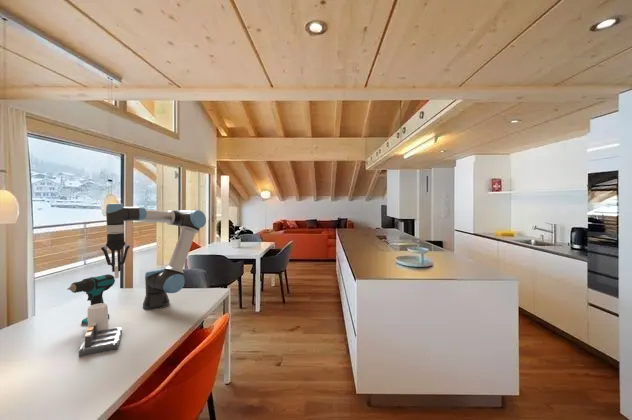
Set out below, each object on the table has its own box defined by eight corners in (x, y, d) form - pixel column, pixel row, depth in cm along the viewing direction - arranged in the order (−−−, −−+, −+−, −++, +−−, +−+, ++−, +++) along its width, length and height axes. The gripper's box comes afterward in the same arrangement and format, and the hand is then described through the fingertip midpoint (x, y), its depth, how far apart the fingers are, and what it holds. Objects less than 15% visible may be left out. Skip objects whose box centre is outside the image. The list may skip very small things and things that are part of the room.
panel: (122, 332, 155) (121, 326, 155) (117, 349, 137) (117, 342, 137) (88, 338, 149) (87, 331, 149) (78, 357, 131) (78, 349, 131)
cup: (112, 331, 157) (111, 303, 156) (96, 338, 149) (95, 309, 149) (100, 329, 160) (99, 302, 159) (83, 336, 152) (82, 307, 151)
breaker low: (97, 332, 149) (97, 321, 149) (96, 335, 146) (95, 324, 145) (92, 333, 148) (92, 322, 148) (90, 336, 145) (90, 325, 144)
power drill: (76, 333, 155) (74, 284, 155) (61, 331, 157) (60, 283, 156) (119, 314, 181) (117, 272, 180) (106, 313, 183) (104, 271, 182)
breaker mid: (94, 337, 143) (93, 326, 143) (92, 341, 140) (92, 329, 139) (88, 338, 142) (88, 327, 142) (87, 342, 139) (86, 330, 139)
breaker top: (92, 343, 138) (92, 331, 137) (90, 347, 134) (90, 334, 134) (87, 344, 137) (86, 332, 137) (85, 348, 133) (84, 335, 133)
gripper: (130, 231, 167) (131, 274, 168) (101, 233, 161) (102, 277, 162) (129, 232, 160) (130, 277, 161) (99, 234, 154) (100, 280, 155)
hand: (116, 277), depth 161 cm, fingers closed
